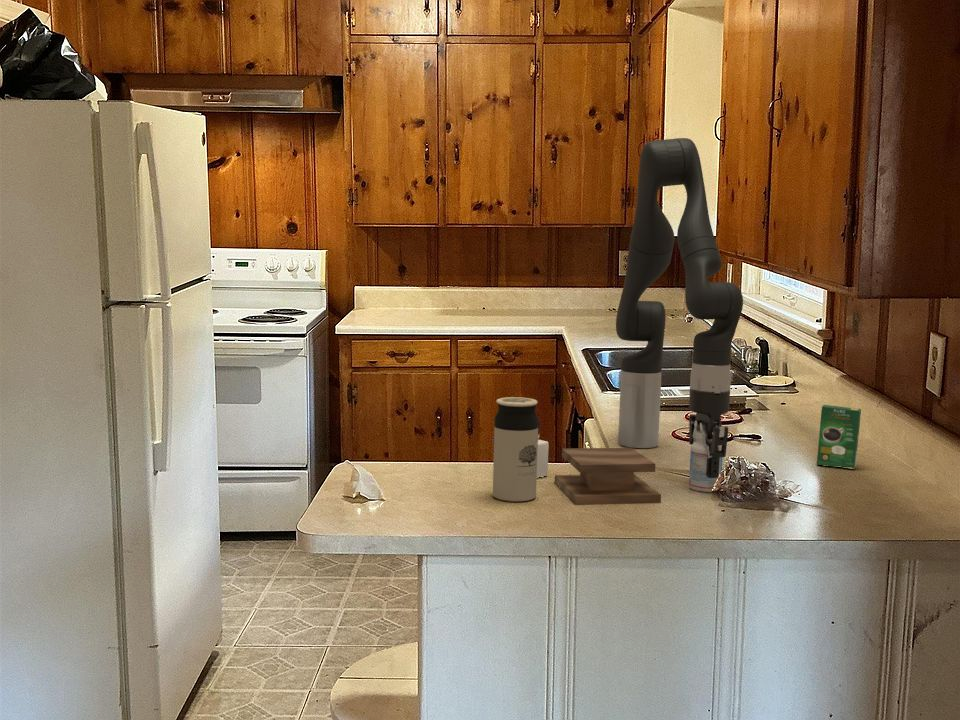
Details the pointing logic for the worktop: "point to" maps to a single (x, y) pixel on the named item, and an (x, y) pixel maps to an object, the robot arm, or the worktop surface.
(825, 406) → the coffee box
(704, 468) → the pill bottle
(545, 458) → the medicine bottle
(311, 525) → the worktop surface
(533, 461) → the travel mug
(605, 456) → the walnut stand
